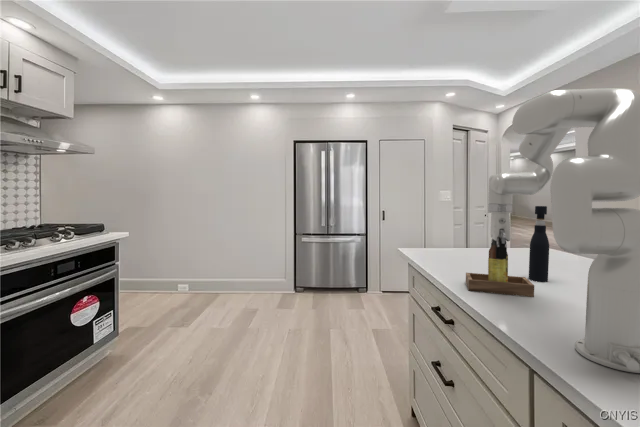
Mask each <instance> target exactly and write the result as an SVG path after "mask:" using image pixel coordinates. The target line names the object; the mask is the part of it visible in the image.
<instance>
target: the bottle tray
mask: <svg viewBox="0 0 640 427" xmlns="http://www.w3.org/2000/svg"><path fill="white" fill-rule="evenodd" d="M465 285H466V288H467V290H468V292H475V293H476V292H477V293H487V294H496V295H497V294H498V295H506V296H507V295H508V296H517V297H518V296H519V297H530V298H534V297H535V285H534V284H533V283H532V281H531V280H529V278H527V277H526V276H515V275H514V276H513V275H508V282H497V281H488V273H478V272H477V273H475V272H474V273H473V272H465Z"/></svg>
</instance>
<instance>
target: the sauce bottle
mask: <svg viewBox="0 0 640 427" xmlns="http://www.w3.org/2000/svg"><path fill="white" fill-rule="evenodd" d="M499 234H500V232H499ZM491 243H492V246H491V245H490V248H489V250H488V260H487V265H488V266H487V270H488V272H487V274H488V281H497V282H508V276H509V254H508V253H507V256H506V259H497V258H496V247H497V241H495V240H494V239H492V238H491Z"/></svg>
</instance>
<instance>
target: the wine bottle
mask: <svg viewBox="0 0 640 427" xmlns="http://www.w3.org/2000/svg"><path fill="white" fill-rule="evenodd" d="M547 212H548V206H547V205H535V207H534V214H535V215H536V220H535V224H534V229H533V230H534V231H533V234H532V237H531V239H530V242H529V257H528V258H529V259H528V262H529V263H528V280H529V279H530V280H529V281H532V280H533V281H532V282H536V281H537V283H547V282H548V281H549V262H550V260H549V259H550V241H549V237H548V235H547V232H546V231H547V225H546V221H545V218H546V216H545V215H547V214H548V213H547Z"/></svg>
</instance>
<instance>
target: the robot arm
mask: <svg viewBox="0 0 640 427" xmlns="http://www.w3.org/2000/svg"><path fill="white" fill-rule="evenodd" d="M511 122H512V123H511V126H512V130H513V131H514V132H515V133H516V134H517V135H525V136H524V137H523V139H522V140H521V143H520V144H519V147H518V151H519V154H520V155H521V156H522V157H523V158H524V159H526V160H527V161H529V162H531V163H533V164H536V167H535V168H534V169H533V170H532V171H522V172H521V171H514V172H510V171H509V172H500V173H498V174H493V175H490V176H489V178H488V198H487V200H488V201H487V213H489V214H490V238H491V240H492V239H494V240H495V241H497V247H496V258H497V259H506V256H507V254H508V251H507V250H508V247H507V245H508V244H507V242H510V241H511V217H510V214H512V213H513V196H515V195H516V196H518V195H519V196H522V195H523V196H532V195H536V194H538V193H539V192H540V191H541V190H543V189H544V188H545V186H547V184H548V183H549V181H550V185H549V186H550V187H549V188H550V189H549V190H550V204H551V222H552V231H553V232H552V234H553V237H554V240H555V243H556V244H557V245H558V247H559V248H560V249H561V250H563V251H565V252H567V253H571V254H575V255H576V254H578V255H583V254H584V255H596V256H595V258H594V259H593V261H592V262H591V263H590V266H589V268H588V274H587V286H586V287H587V288H586V307H585V324H584V325H585V326H584V327H585V328H584V338H582V339H578V340H575V343H574V348H575V350H576V352H577V353H579V355H581V356H582V357H584V358H586V359H588V360H589V361H592V362H594V363H597V365H598V364H599V365H602V366H604V367H607V368H611V369H614V370H618V371H622V372H627V373H634V374H640V209H637V208H629V207H593V203H597V202H599V203H602V202H603V203H605V202H606V203H607V202H608V203H610V202H627V201H632V200H635V199H637V198H638V197H640V93H639V92H638V91H637V90H634V89H631V88H618V87H617V88H616V87H615V88H613V87H612V88H608V87H607V88H583V89H581V88H578V89H577V88H575V89H572V88H571V89H556V90H551V91H548V92H546V93H544V94H541V95H539V96H536V97H534V98H532V99H529V100H528V101H526V102H524V103H523V104H521V105H520V106H519V107H518V108H517V110H516V111H515V113H514V115H513V118H512V121H511ZM572 128H574V129H575V128H577V129H578V128H592V131H591V132H590V134H589V136H588V139H587V151H588V153H587V154H588V155H587V156H585V155H584V156H581V155H580V156H573V157H572V156H571V157H569V158H566V159H564V160H562V161H561V162H559V163H558V164H557V166H556V167H555V168H554V163H553V159H552V157H551V156H552V154H553V153H554V151H556V149H557V148H558V146H559V145H560V143H561V142H562V141H563V139H564V138H565V137H566V135H567V134H568V133H569V132H570V130H571V129H572ZM499 232H500V234H499ZM491 246H492V242H490V247H491Z"/></svg>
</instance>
